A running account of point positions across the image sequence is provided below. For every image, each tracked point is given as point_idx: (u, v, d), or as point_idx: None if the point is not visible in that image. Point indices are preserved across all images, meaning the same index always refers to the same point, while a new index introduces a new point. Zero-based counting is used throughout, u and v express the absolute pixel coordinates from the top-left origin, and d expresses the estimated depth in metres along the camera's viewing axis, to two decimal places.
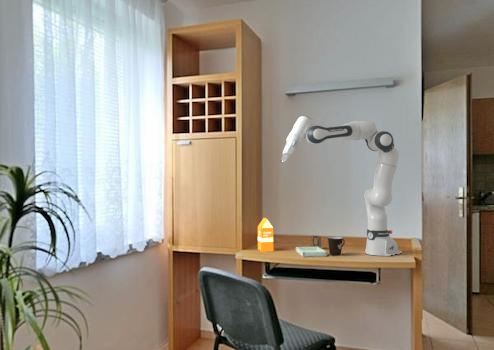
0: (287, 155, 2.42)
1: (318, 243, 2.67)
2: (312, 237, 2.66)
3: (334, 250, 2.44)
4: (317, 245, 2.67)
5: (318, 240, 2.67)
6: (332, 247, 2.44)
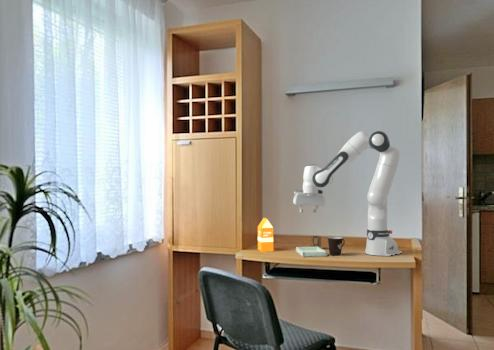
0: (299, 205, 2.64)
1: (318, 243, 2.67)
2: (312, 237, 2.66)
3: (334, 250, 2.44)
4: (317, 245, 2.66)
5: (318, 240, 2.67)
6: (332, 247, 2.44)
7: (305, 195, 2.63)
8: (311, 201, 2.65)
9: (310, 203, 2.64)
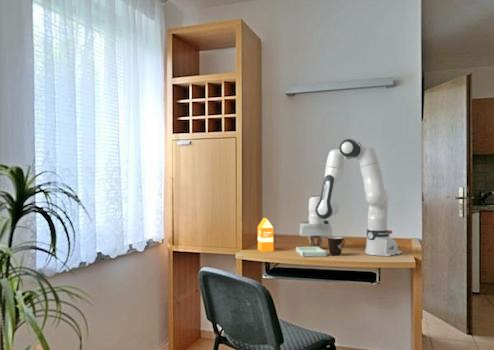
0: None
1: (318, 243, 2.67)
2: (312, 237, 2.66)
3: (334, 250, 2.44)
4: None
5: (318, 240, 2.67)
6: (332, 247, 2.44)
7: (311, 226, 2.65)
8: (318, 232, 2.66)
9: (317, 234, 2.66)
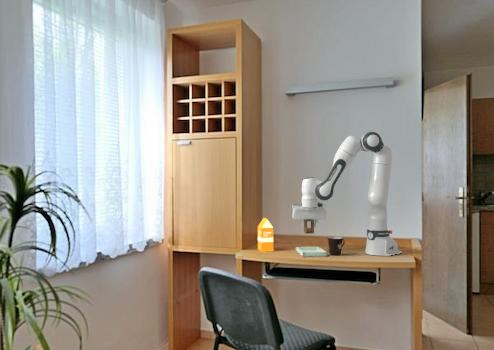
0: (300, 220, 2.55)
1: (311, 227, 2.55)
2: (305, 220, 2.54)
3: (334, 250, 2.44)
4: (310, 229, 2.54)
5: (311, 224, 2.55)
6: (332, 247, 2.44)
7: (304, 209, 2.53)
8: (311, 215, 2.54)
9: (310, 217, 2.54)
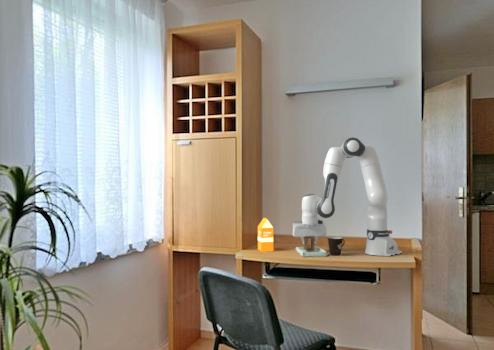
0: (301, 237, 2.55)
1: (312, 244, 2.55)
2: (305, 237, 2.54)
3: (334, 250, 2.44)
4: (310, 246, 2.54)
5: (312, 241, 2.55)
6: (332, 247, 2.44)
7: (304, 226, 2.53)
8: (312, 232, 2.54)
9: (310, 234, 2.53)
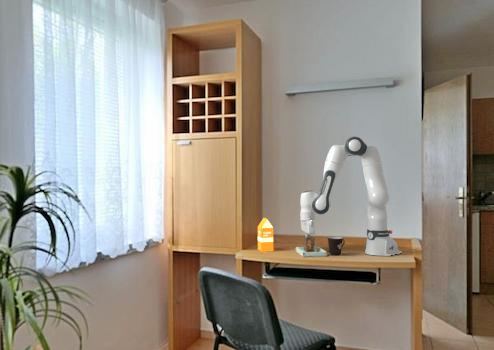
0: (308, 233, 2.57)
1: (312, 245, 2.55)
2: (305, 239, 2.54)
3: (334, 250, 2.44)
4: (310, 248, 2.54)
5: (312, 242, 2.55)
6: (332, 247, 2.44)
7: None
8: None
9: None
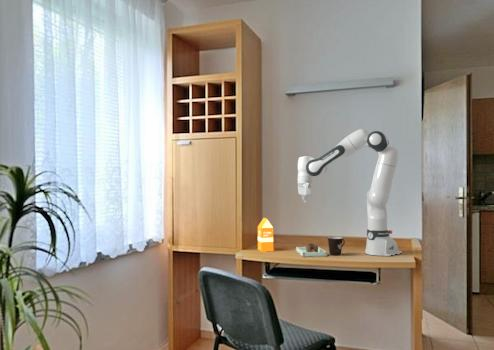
0: (305, 196, 2.68)
1: (314, 249, 2.49)
2: None
3: (334, 250, 2.44)
4: (313, 249, 2.47)
5: (315, 249, 2.48)
6: (332, 247, 2.44)
7: None
8: None
9: None
